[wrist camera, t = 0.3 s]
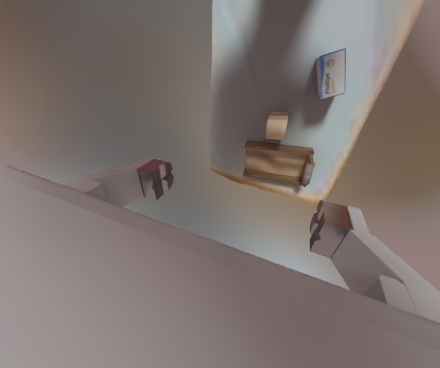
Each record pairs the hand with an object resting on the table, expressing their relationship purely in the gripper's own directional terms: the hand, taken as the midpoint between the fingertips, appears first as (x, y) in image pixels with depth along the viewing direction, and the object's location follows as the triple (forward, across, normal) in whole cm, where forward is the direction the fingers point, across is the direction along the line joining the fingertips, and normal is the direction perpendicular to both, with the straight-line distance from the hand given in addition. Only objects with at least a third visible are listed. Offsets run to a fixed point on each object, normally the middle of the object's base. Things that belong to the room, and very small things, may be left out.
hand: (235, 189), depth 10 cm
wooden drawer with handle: (+46, 0, +19) cm, 50 cm away
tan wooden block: (+47, +2, +8) cm, 47 cm away
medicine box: (+48, -7, -4) cm, 48 cm away
